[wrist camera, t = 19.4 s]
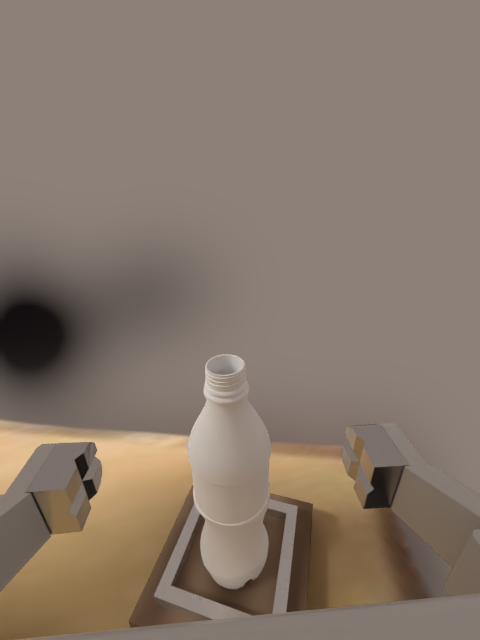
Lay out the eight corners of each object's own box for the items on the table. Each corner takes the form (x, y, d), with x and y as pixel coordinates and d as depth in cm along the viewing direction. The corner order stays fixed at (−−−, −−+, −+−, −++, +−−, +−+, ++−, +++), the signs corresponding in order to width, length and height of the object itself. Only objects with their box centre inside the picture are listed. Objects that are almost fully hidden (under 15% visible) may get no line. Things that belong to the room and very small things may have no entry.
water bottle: (216, 615, 28) (191, 408, 17) (194, 540, 34) (167, 353, 23) (280, 576, 30) (292, 377, 20) (250, 513, 36) (247, 335, 26)
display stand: (134, 636, 29) (125, 613, 27) (199, 489, 43) (196, 467, 41) (298, 708, 24) (302, 687, 23) (310, 518, 38) (313, 496, 37)
